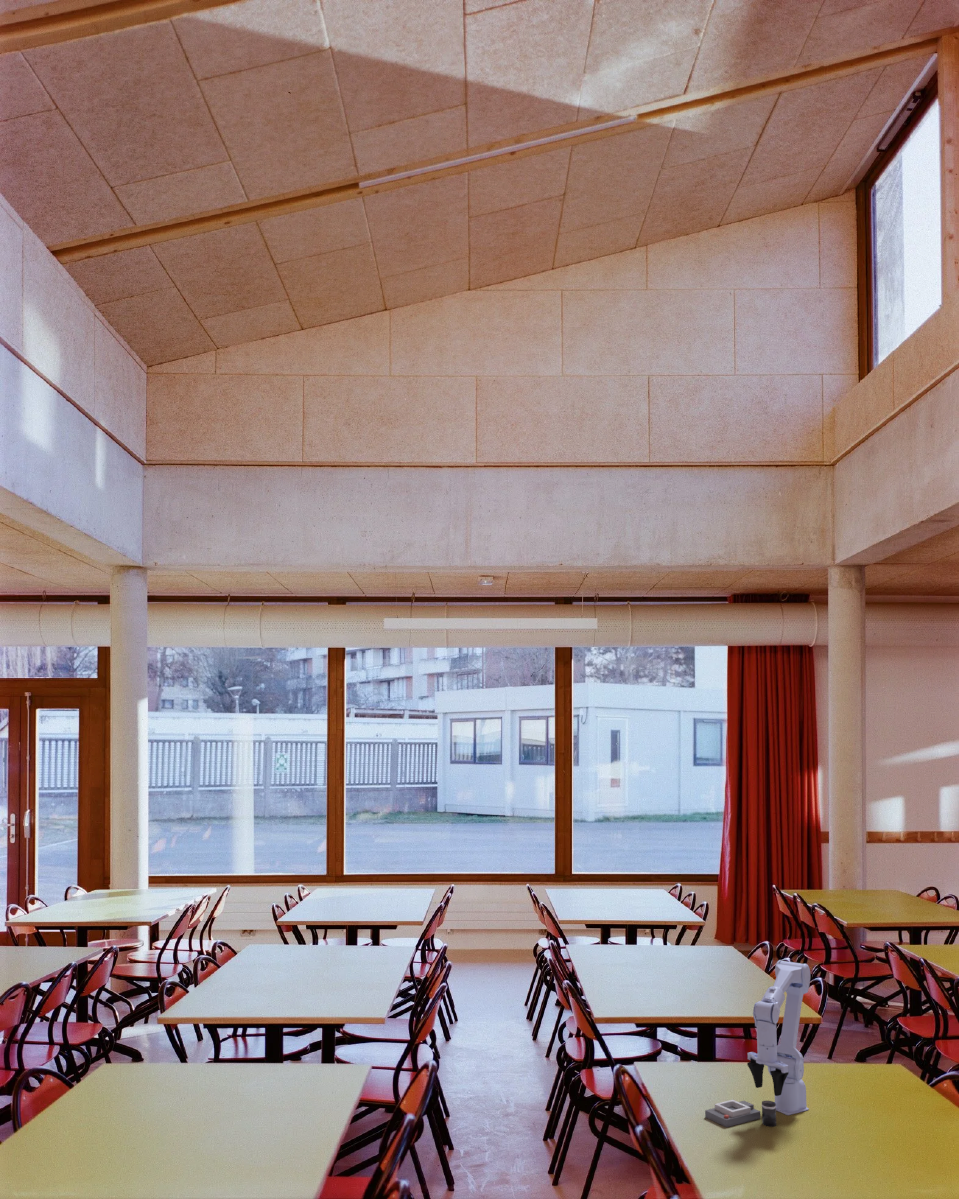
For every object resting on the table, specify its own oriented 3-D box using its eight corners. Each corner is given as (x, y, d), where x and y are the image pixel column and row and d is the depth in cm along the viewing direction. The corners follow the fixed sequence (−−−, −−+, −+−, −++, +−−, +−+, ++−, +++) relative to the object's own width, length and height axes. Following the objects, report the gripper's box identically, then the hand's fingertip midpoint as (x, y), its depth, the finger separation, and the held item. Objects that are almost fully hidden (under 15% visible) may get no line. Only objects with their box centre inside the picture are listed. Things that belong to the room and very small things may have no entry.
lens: (769, 1120, 305) (768, 1099, 306) (779, 1125, 302) (778, 1104, 303) (759, 1123, 303) (758, 1102, 304) (769, 1127, 300) (769, 1106, 301)
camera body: (738, 1108, 315) (738, 1096, 315) (760, 1118, 307) (760, 1106, 307) (705, 1117, 308) (705, 1105, 308) (726, 1127, 300) (726, 1114, 300)
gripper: (739, 1039, 310) (741, 1086, 308) (775, 1052, 297) (777, 1101, 296) (756, 1035, 313) (757, 1082, 312) (792, 1048, 301) (794, 1096, 299)
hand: (768, 1091), depth 304 cm, fingers open, 7 cm apart
